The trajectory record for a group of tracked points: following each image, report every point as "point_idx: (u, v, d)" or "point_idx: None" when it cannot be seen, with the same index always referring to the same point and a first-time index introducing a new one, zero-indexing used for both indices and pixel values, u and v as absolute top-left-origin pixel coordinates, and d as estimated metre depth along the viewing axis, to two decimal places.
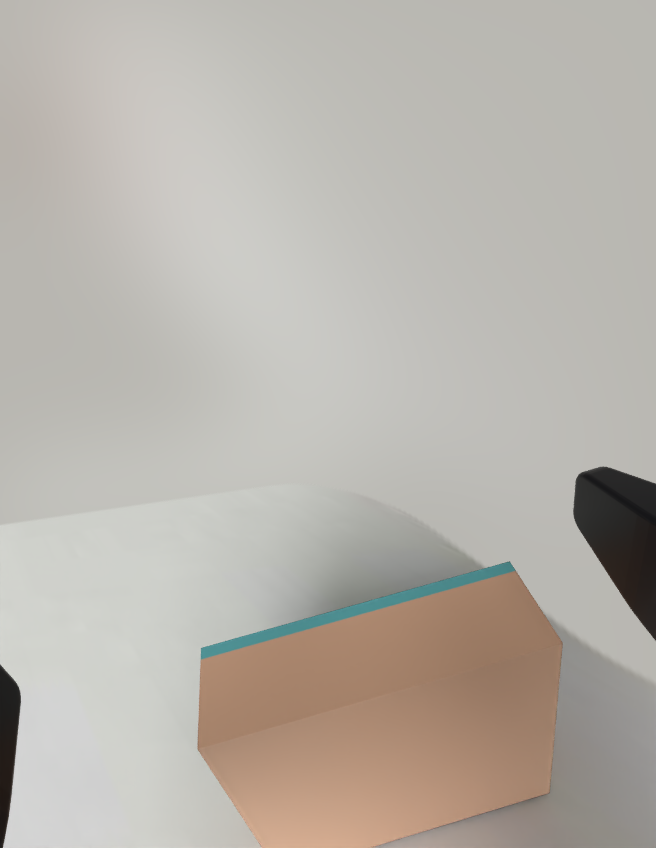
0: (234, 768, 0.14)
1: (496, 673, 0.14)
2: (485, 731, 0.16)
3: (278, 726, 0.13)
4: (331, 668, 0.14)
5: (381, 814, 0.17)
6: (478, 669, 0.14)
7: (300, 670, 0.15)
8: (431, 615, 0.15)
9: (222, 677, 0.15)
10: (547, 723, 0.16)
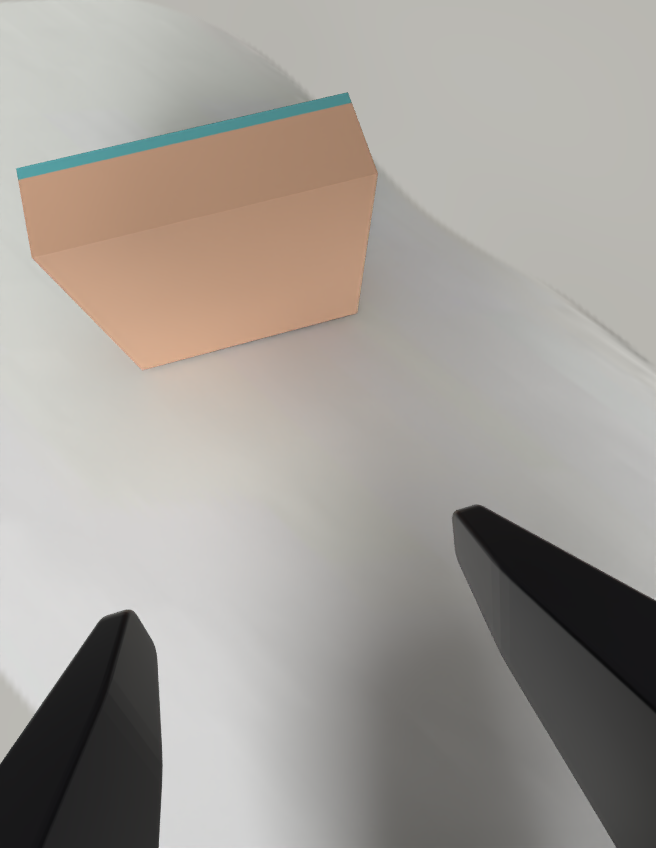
0: (76, 278, 0.16)
1: (316, 200, 0.15)
2: (305, 256, 0.18)
3: (109, 239, 0.14)
4: (159, 191, 0.15)
5: (220, 325, 0.21)
6: (299, 194, 0.15)
7: (127, 192, 0.15)
8: (261, 144, 0.15)
9: (45, 197, 0.15)
10: (358, 253, 0.19)
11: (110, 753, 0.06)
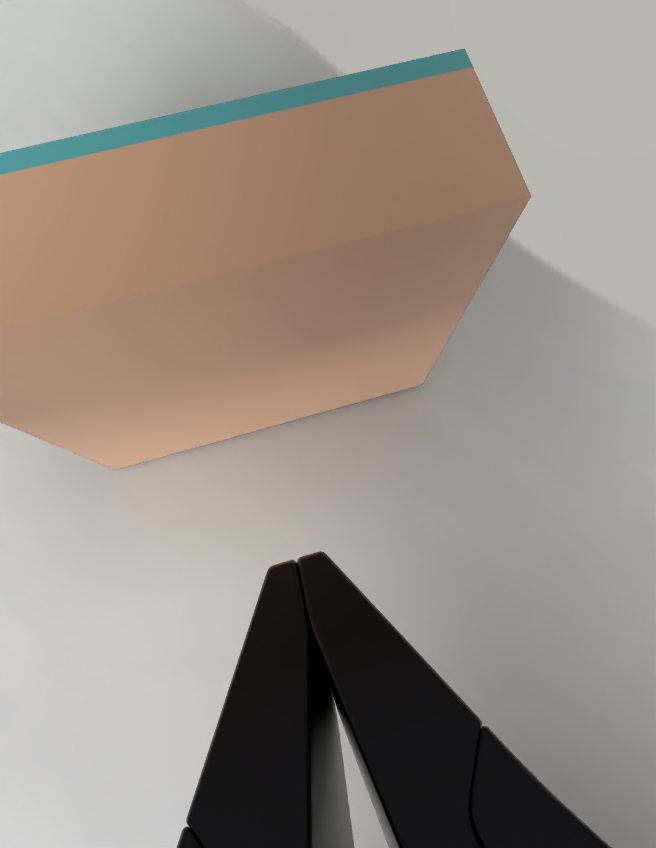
0: None
1: (410, 245, 0.08)
2: (370, 327, 0.11)
3: (18, 325, 0.07)
4: (119, 231, 0.08)
5: (229, 415, 0.14)
6: (383, 235, 0.08)
7: (58, 232, 0.08)
8: (311, 141, 0.08)
9: None
10: (451, 317, 0.12)
11: (318, 686, 0.06)
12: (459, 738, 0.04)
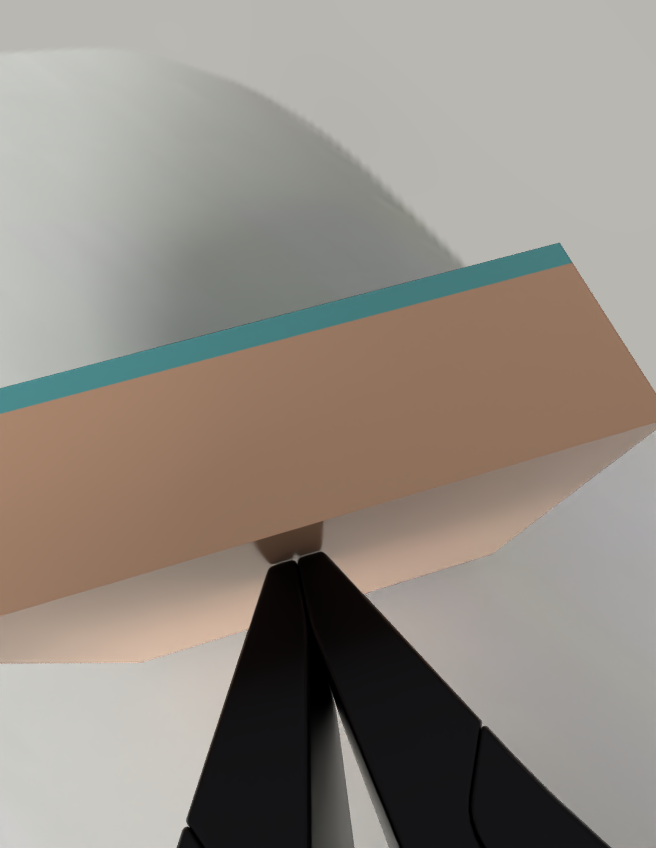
0: None
1: (518, 473, 0.07)
2: (451, 532, 0.09)
3: (34, 606, 0.06)
4: (166, 473, 0.06)
5: None
6: (490, 473, 0.06)
7: (93, 476, 0.06)
8: (391, 355, 0.07)
9: None
10: (541, 509, 0.10)
11: (318, 686, 0.06)
12: (459, 738, 0.04)
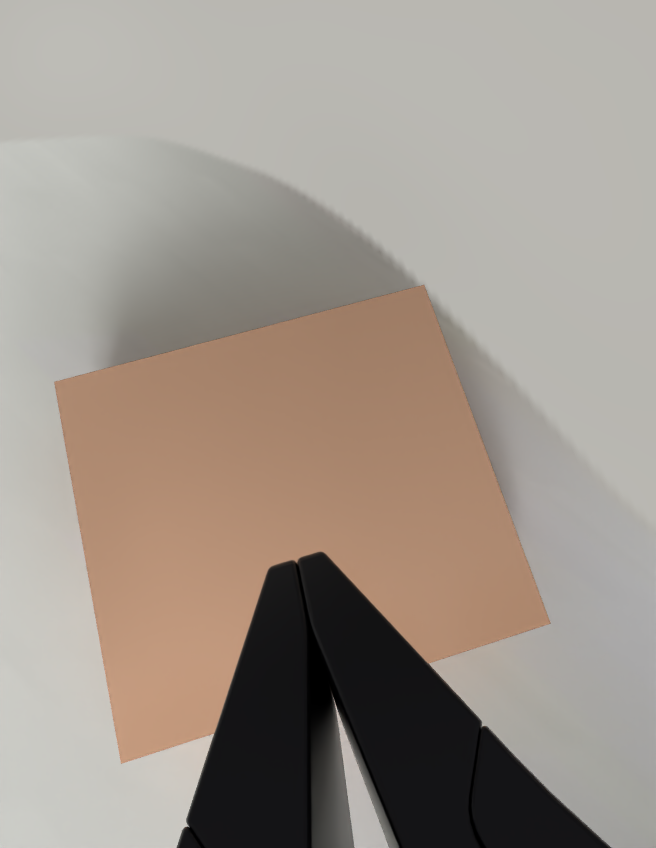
0: (85, 427, 0.13)
1: (363, 319, 0.14)
2: (382, 423, 0.13)
3: (137, 360, 0.13)
4: None
5: None
6: (341, 309, 0.14)
7: None
8: None
9: None
10: (464, 424, 0.13)
11: (318, 686, 0.06)
12: (459, 738, 0.04)
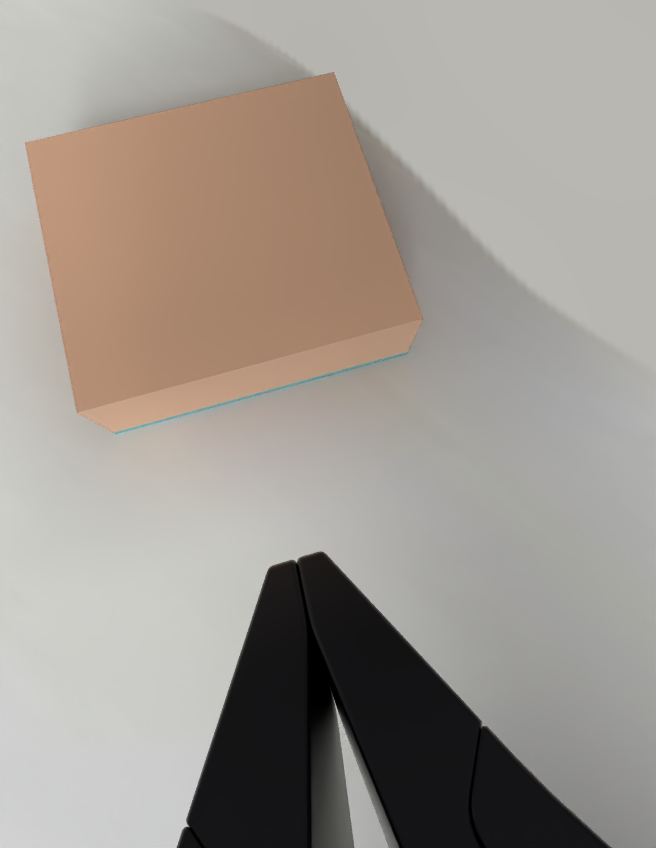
0: (50, 176, 0.16)
1: (282, 97, 0.17)
2: (293, 174, 0.16)
3: (93, 127, 0.16)
4: None
5: (202, 302, 0.15)
6: (263, 90, 0.17)
7: None
8: None
9: None
10: (361, 176, 0.16)
11: (318, 686, 0.06)
12: (459, 738, 0.04)
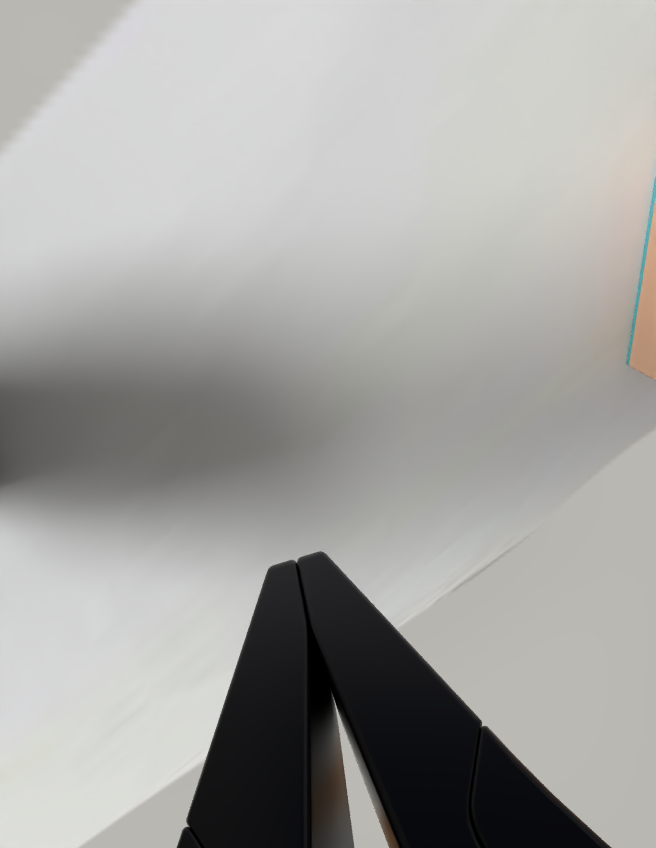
0: None
1: None
2: None
3: None
4: None
5: None
6: None
7: None
8: None
9: None
10: None
11: (318, 686, 0.06)
12: (459, 738, 0.04)
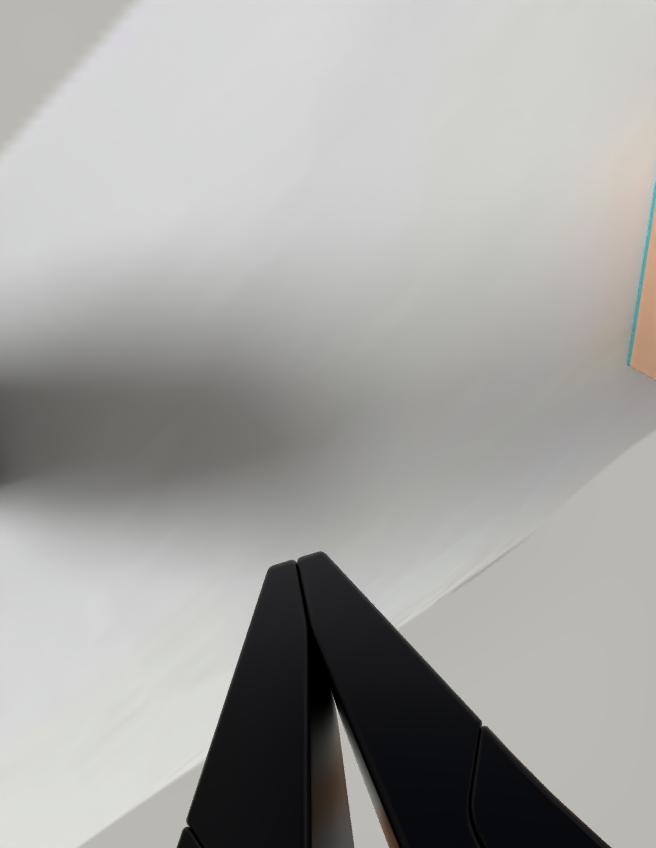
0: None
1: None
2: None
3: None
4: None
5: None
6: None
7: None
8: None
9: None
10: None
11: (318, 686, 0.06)
12: (459, 738, 0.04)
